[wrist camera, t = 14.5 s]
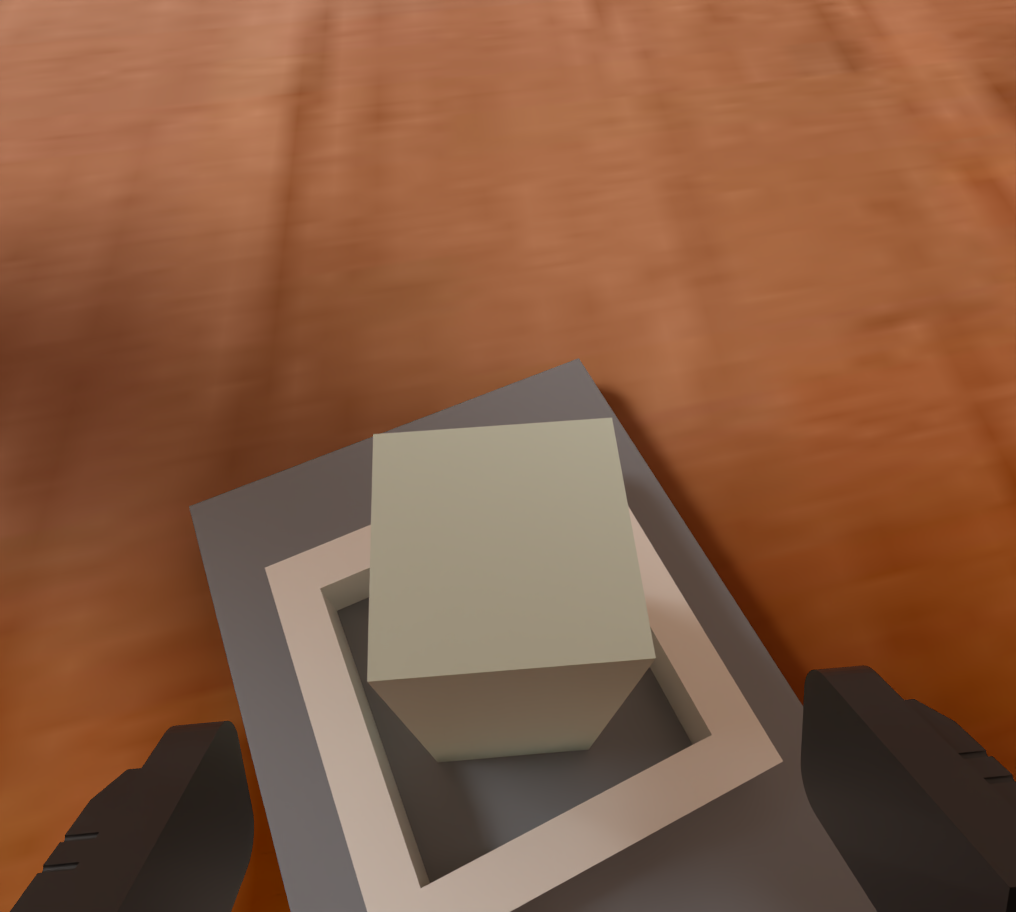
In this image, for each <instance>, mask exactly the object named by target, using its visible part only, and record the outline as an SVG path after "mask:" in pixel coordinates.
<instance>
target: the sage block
mask: <svg viewBox="0 0 1016 912" xmlns="http://www.w3.org/2000/svg"><path fill="white" fill-rule="evenodd" d="M655 659H656V656H655V651H654V645H653V640H652V634H651V629H650V623H649V618H648V612H647V607H646V601H645V596H644V590H643V585H642V579H641V574H640V568H639V563H638V557H637V552H636V546H635V541H634V536H633V530H632V525H631V519H630V514H629V508H628V503H627V497H626V492H625V486H624V481H623V475H622V470H621V464H620V459H619V453H618V448H617V442H616V437H615V431H614V426H613V420H612V418H599V419H584V420H570V421H556V422H541V423H527V424H513V425H498V426H484V427H470V428H456V429H441V430H427V431H413V432H398V433H384V434H373V460H372V501H371V543H370V584H369V625H368V667H367V682H368V683H369V684H370V686H371V687H372V688H373V689H374V690H375V691H376V692H377V694H378V695H379V696H380V697H381V698H382V699H383V700H384V702H385V703H386V704H387V705H388V706H389V707H390V708H391V710H392V711H393V712H394V713H395V714H396V715H397V716H398V717H399V719H400V720H401V721H402V722H403V723H404V724H405V725H406V727H407V728H408V729H409V730H410V731H411V732H412V733H413V735H414V736H415V737H416V738H417V739H418V740H419V741H420V743H421V744H422V745H423V746H424V747H425V748H426V749H427V751H428V752H429V753H430V754H431V755H432V756H433V757H434V759H435V760H436V761H437V762H448V761H460V760H472V759H483V758H495V757H507V756H519V755H531V754H542V753H554V752H566V751H578V750H589V748H590V747H591V746H592V744H593V743H594V742H595V740H596V739H597V737H598V736H599V735H600V733H601V732H602V731H603V729H604V728H605V727H606V725H607V724H608V723H609V721H610V720H611V718H612V717H613V716H614V714H615V713H616V712H617V710H618V709H619V708H620V706H621V705H622V704H623V702H624V701H625V699H626V698H627V697H628V695H629V694H630V693H631V691H632V690H633V689H634V687H635V686H636V685H637V683H638V682H639V681H640V679H641V678H642V676H643V675H644V674H645V672H646V671H647V670H648V668H649V667H650V666H651V664H652V663H653V662H654V660H655Z"/></svg>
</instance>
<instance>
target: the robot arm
mask: <svg viewBox="0 0 1016 912" xmlns="http://www.w3.org/2000/svg"><path fill="white" fill-rule="evenodd" d="M801 775H802V780H803V785H804V789H805V792H806V795H807V798H808V801H809V803H810V805H811V808H812V810H813V811H814V813H815V815H816V816H817V818H818V820H819V821H820V823H821V824H822V826H823V827H824V829H825V831H826V832H827V834H828V835H829V837H830V838H831V840H832V842H833V843H834V845H835V846H836V848H837V849H838V851H839V853H840V854H841V856H842V857H843V859H844V860H845V862H846V864H847V865H848V867H849V868H850V870H851V871H852V873H853V875H854V876H855V878H856V879H857V881H858V882H859V884H860V886H861V887H862V889H863V890H864V892H865V893H866V895H867V897H868V898H869V900H870V901H871V903H872V904H873V906H874V908H875V909H876V911H877V912H1016V782H1015V781H1014V779H1013V776H1012V774H1011V773H1010V772H1009V771H1008V770H1007V769H1006V768H1004V767H1003V766H1002V765H1001V764H1000V763H999V762H998V761H997V760H996V759H995V758H994V757H993V756H990V757H988V756H987V754H986V750H985V749H984V748H983V747H982V746H981V745H980V744H979V743H977V742H976V741H975V740H974V739H973V738H972V737H971V736H970V735H969V734H968V733H967V732H966V731H964V730H963V729H962V728H961V727H960V726H959V725H958V724H957V723H956V722H955V721H953V720H951V719H949V718H947V717H946V716H944V715H942V714H940V713H938V712H937V711H935V710H933V709H931V708H929V707H928V706H926V705H924V704H922V703H920V702H919V701H917V700H915V699H911V700H904V699H902V698H901V697H900V696H899V695H898V694H897V693H896V692H895V691H894V690H893V689H892V688H891V687H890V686H889V685H888V684H887V683H886V682H885V681H884V680H883V679H882V678H881V677H880V676H879V675H878V674H877V673H876V672H875V671H874V670H873V669H871V668H870V667H868V666H864V665H863V666H852V667H841V668H830V669H819V670H811V671H810V672H809V673H808V674H807V677H806V680H805V686H804V705H803V724H802V743H801ZM253 836H254V819H253V811H252V805H251V800H250V795H249V790H248V785H247V780H246V775H245V770H244V765H243V760H242V755H241V750H240V744H239V739H238V735H237V731H236V728H235V726H234V725H233V724H232V722H230V721H222V722H211V723H200V724H189V725H178V726H172V727H170V728H169V729H168V730H167V731H166V733H165V734H164V735H163V737H162V738H161V740H160V741H159V743H158V744H157V746H156V747H155V749H154V750H153V752H152V753H151V755H150V756H149V758H148V759H147V761H146V762H145V764H144V765H143V767H142V768H139V769H128V770H126V771H125V772H124V773H123V774H121V775H120V776H119V777H118V778H117V779H115V780H114V781H113V782H112V783H111V784H109V785H108V786H107V787H106V788H105V789H103V790H102V791H101V792H100V793H98V794H97V795H96V796H95V797H94V798H92V799H91V800H90V801H89V803H88V804H87V806H86V807H85V808H84V810H83V811H82V812H81V814H80V815H79V817H78V818H77V819H76V821H75V822H74V824H73V825H72V826H71V828H70V829H69V831H68V832H67V833H66V835H65V841H64V842H60V843H59V844H58V846H57V847H56V849H55V850H54V851H53V853H52V854H51V855H50V857H49V858H48V860H47V861H46V862H45V864H44V865H43V872H42V873H37V875H36V876H35V878H34V879H33V880H32V882H31V883H30V885H29V886H28V887H27V889H26V890H25V891H24V893H23V894H22V896H21V897H20V898H19V900H18V901H17V903H16V904H15V905H14V907H13V908H12V909H11V911H10V912H231V910H232V907H233V905H234V902H235V899H236V897H237V894H238V891H239V889H240V886H241V883H242V881H243V878H244V875H245V873H246V870H247V867H248V864H249V861H250V857H251V852H252V846H253Z"/></svg>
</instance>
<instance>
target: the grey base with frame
mask: <svg viewBox="0 0 1016 912" xmlns="http://www.w3.org/2000/svg"><path fill="white" fill-rule="evenodd" d="M599 418H612V420H613V426H614V431H615V437H616V442H617V448H618V453H619V459H620V464H621V470H622V475H623V481H624V486H625V492H626V497H627V503H628V508H629V514H630V519H631V525H632V530H633V536H634V541H635V546H636V552H637V557H638V563H639V568H640V574H641V579H642V585H643V590H644V596H645V601H646V607H647V612H648V618H649V623H650V629H651V634H652V640H653V645H654V651H655V656H656V659H655V660H654V662H653V663H652V664H651V666H650V667H649V668H648V670H647V671H646V672H645V674H644V675H643V676H642V678H641V679H640V681H639V682H638V683H637V685H636V686H635V687H634V689H633V690H632V691H631V693H630V694H629V695H628V697H627V698H626V699H625V701H624V702H623V704H622V705H621V706H620V708H619V709H618V710H617V712H616V713H615V714H614V716H613V717H612V718H611V720H610V721H609V723H608V724H607V725H606V727H605V728H604V729H603V731H602V732H601V733H600V735H599V736H598V737H597V739H596V740H595V742H594V743H593V744H592V746H591V747H590V748H589V750H578V751H566V752H554V753H542V754H531V755H519V756H507V757H495V758H483V759H472V760H460V761H448V762H437V761H436V760H435V759H434V757H433V756H432V755H431V754H430V753H429V752H428V751H427V749H426V748H425V747H424V746H423V745H422V744H421V743H420V741H419V740H418V739H417V738H416V737H415V736H414V735H413V733H412V732H411V731H410V730H409V729H408V728H407V727H406V725H405V724H404V723H403V722H402V721H401V720H400V719H399V717H398V716H397V715H396V714H395V713H394V712H393V711H392V710H391V708H390V707H389V706H388V705H387V704H386V703H385V702H384V700H383V699H382V698H381V697H380V696H379V695H378V694H377V692H376V691H375V690H374V689H373V688H372V687H371V686H370V684H369V683H368V682H367V667H368V625H369V584H370V543H371V501H372V460H373V437H371V438H368V439H365V440H363V441H360V442H357V443H355V444H352V445H350V446H347V447H344V448H342V449H339V450H336V451H334V452H331V453H328V454H326V455H323V456H321V457H318V458H315V459H313V460H310V461H307V462H305V463H302V464H300V465H297V466H294V467H292V468H289V469H286V470H284V471H281V472H278V473H276V474H273V475H271V476H268V477H265V478H263V479H260V480H257V481H255V482H252V483H250V484H247V485H244V486H242V487H239V488H236V489H234V490H231V491H228V492H226V493H223V494H221V495H218V496H215V497H213V498H210V499H207V500H205V501H202V502H200V503H197V504H194V505H192V506H189V509H190V512H191V516H192V520H193V524H194V528H195V532H196V536H197V540H198V544H199V548H200V552H201V556H202V560H203V564H204V568H205V572H206V576H207V580H208V584H209V588H210V592H211V596H212V600H213V604H214V608H215V612H216V616H217V620H218V624H219V628H220V632H221V636H222V640H223V644H224V648H225V652H226V656H227V660H228V664H229V668H230V672H231V676H232V680H233V684H234V688H235V692H236V696H237V699H238V703H239V707H240V711H241V715H242V719H243V723H244V727H245V731H246V735H247V739H248V743H249V747H250V751H251V755H252V759H253V763H254V767H255V771H256V775H257V779H258V783H259V787H260V791H261V795H262V799H263V803H264V807H265V811H266V815H267V819H268V823H269V827H270V831H271V835H272V839H273V843H274V847H275V851H276V855H277V859H278V863H279V867H280V871H281V875H282V879H283V883H284V886H285V890H286V894H287V898H288V902H289V906H290V910H291V912H877V911H876V909H875V908H874V906H873V904H872V903H871V901H870V900H869V898H868V897H867V895H866V893H865V892H864V890H863V889H862V887H861V886H860V884H859V882H858V881H857V879H856V878H855V876H854V875H853V873H852V871H851V870H850V868H849V867H848V865H847V864H846V862H845V860H844V859H843V857H842V856H841V854H840V853H839V851H838V849H837V848H836V846H835V845H834V843H833V842H832V840H831V838H830V837H829V835H828V834H827V832H826V831H825V829H824V827H823V826H822V824H821V823H820V821H819V820H818V818H817V816H816V815H815V813H814V811H813V810H812V808H811V805H810V803H809V801H808V798H807V795H806V792H805V789H804V785H803V780H802V775H801V743H802V724H803V706H802V704H801V702H800V701H799V699H798V698H797V696H796V695H795V693H794V692H793V690H792V689H791V687H790V685H789V684H788V682H787V681H786V679H785V678H784V676H783V675H782V673H781V671H780V670H779V668H778V667H777V665H776V664H775V662H774V661H773V659H772V657H771V656H770V654H769V653H768V651H767V650H766V648H765V647H764V645H763V644H762V642H761V640H760V639H759V637H758V636H757V634H756V633H755V631H754V630H753V628H752V626H751V625H750V623H749V622H748V620H747V619H746V617H745V616H744V614H743V612H742V611H741V609H740V608H739V606H738V605H737V603H736V602H735V600H734V599H733V597H732V595H731V594H730V592H729V591H728V589H727V588H726V586H725V585H724V583H723V581H722V580H721V578H720V577H719V575H718V574H717V572H716V571H715V569H714V567H713V566H712V564H711V563H710V561H709V560H708V558H707V557H706V555H705V553H704V552H703V550H702V549H701V547H700V546H699V544H698V543H697V541H696V540H695V538H694V536H693V535H692V533H691V532H690V530H689V529H688V527H687V526H686V524H685V522H684V521H683V519H682V518H681V516H680V515H679V513H678V512H677V510H676V508H675V507H674V505H673V504H672V502H671V501H670V499H669V498H668V496H667V495H666V493H665V491H664V490H663V488H662V487H661V485H660V484H659V482H658V481H657V479H656V477H655V476H654V474H653V473H652V471H651V470H650V468H649V467H648V465H647V463H646V462H645V460H644V459H643V457H642V456H641V454H640V453H639V451H638V450H637V448H636V446H635V445H634V443H633V442H632V440H631V439H630V437H629V436H628V434H627V432H626V431H625V429H624V428H623V426H622V425H621V423H620V422H619V420H618V418H617V417H616V415H615V414H614V412H613V411H612V409H611V408H610V406H609V405H608V403H607V401H606V400H605V398H604V397H603V395H602V394H601V392H600V391H599V389H598V387H597V386H596V384H595V383H594V381H593V380H592V378H591V377H590V375H589V373H588V372H587V370H586V369H585V367H584V366H583V364H582V363H581V361H580V359H579V358H578V359H576V360H573V361H571V362H568V363H565V364H563V365H560V366H557V367H555V368H552V369H549V370H547V371H544V372H542V373H539V374H536V375H534V376H531V377H528V378H526V379H523V380H521V381H518V382H515V383H513V384H510V385H507V386H505V387H502V388H499V389H497V390H494V391H492V392H489V393H486V394H484V395H481V396H478V397H476V398H473V399H471V400H468V401H465V402H463V403H460V404H457V405H455V406H452V407H450V408H447V409H444V410H442V411H439V412H436V413H434V414H431V415H428V416H426V417H423V418H421V419H418V420H415V421H413V422H410V423H407V424H405V425H402V426H400V427H397V428H394V429H392V430H389V431H386V432H384V433H398V432H413V431H427V430H441V429H456V428H470V427H484V426H498V425H513V424H527V423H541V422H556V421H570V420H584V419H599ZM384 433H381V434H384Z"/></svg>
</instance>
